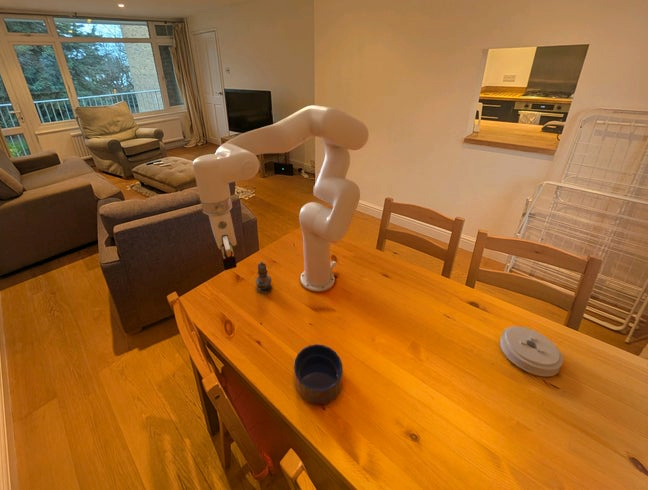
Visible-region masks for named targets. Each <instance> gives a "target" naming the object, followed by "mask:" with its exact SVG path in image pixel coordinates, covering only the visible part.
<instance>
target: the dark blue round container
mask: <svg viewBox="0 0 648 490" xmlns="http://www.w3.org/2000/svg"><path fill="white" fill-rule="evenodd" d="M343 368H344V367H343V363H342V359H341V357H340V356H339V354H338V353H337V352H336V351H335V350H334V349H333V348H331V347H329V346H327V345H324V344H310V345H307V346H305V347H304V348H302V349H301V350H300V351H298V353H297V355H296V357H295V359H294V363H293V371H294V383H295V389H296V391H297V392H298V394H299V396H300V397H301V398H302V399H303V400H305V401H306V402H308V403H310V404H312V405H314V406H315V405H318V406H325V405H329V404H330V403H332V402H333V401H335V400H336V399H337V398H338V397H339V395H340V394H341V391H342V388H343V378H344V377H343V375H344V374H343V373H344V372H343V371H344V370H343Z"/></svg>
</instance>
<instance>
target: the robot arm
mask: <svg viewBox="0 0 648 490" xmlns="http://www.w3.org/2000/svg"><path fill="white" fill-rule="evenodd" d="M315 137H317V138H320V139H321V141H322V144H323V148H324V159H323V162H322V166H321V168H320V170H319V173H318V177H317V178H316V181H315V184H314V187H313V193H314V196H315V197H316V198H318V199H319V200H320V201H322V202H325V203H326V204H329V205H330V206H332V209H331V208H330V207H328V206H326V205H324V204H321V203H319V202H315V201H310V202H307V203H305V204H303V206H302V207H301V209H300V211H299V215H298V221H299V225H300V229H301V233H302V234H301V235H302V246H303V248H302V251H303V270H304V271H302V273H301V274H300V284H301V285H302V286H303V287H304V288H305V289H306V290H308V291H311V292H317V293H319V292H325V291H328V290H329V289H331V288H333V286H334V284H335V275H334V273H333V272H332V270H333V268H335V267H336V266H337V265H338V263H337V261H335V260H333V261H332V262H331V244H336V243H339V242H341V241H342V240H343V239H345V236H346V235H347V233H348V230H349V228H350V225H351V223H352V221H353V219H354V216H355V213H356V211H357V209H358V206H359V203H360V200H361V190H360V189H361V188H360V186H358V184H357V183H356V182H354V181H353V180H351V179H350V180H349V179H347V175H348V171H349V168H350V165H351V154H350V151H349V150H351V151H358V150H361V149H362V148H364V147H365V146H366V144H367V142H368V141H369V128H368V127H367V125H366V124H365V123H364V122H362V121H361V120H359V119H357V118H356V117H353V116H351V115H350V114H348V113H347V112H344V111H342V110H341V109H338V108H337V107H336V108H335V107H331V106H326V105H325V106H323V105H316V104H312V105H307V106H304V107H303V108H301V109H299V110H297V111H295V112H294V113H292V114H290V115H288V116H287V117H285V118H283V119H281V120H279V121H277V122H275V123H273V124H270V125H266V126H262V127H260V128H255V129H252V130H249V131H246V132H243V133H240V134H238V135H237V136H235V137H232V138H231V139H229V140H227V141H225V142H224V143H222V144H221V145H220V146H219V147H218V148H217V149H216V151H215V153H210V154H208V153H207V154H204V155H200V156H198V157H196V158H195V159H194V160H193V162H192V169H193V173H194V178H195V182H196V187H197V192H198V196H199V201H200V205H201V209H202V213H203V214H204V215H207V216H208V219H209V222H210V227H211V230H212V234H213V237H214V240H215V243H216V245H217V248H218V250H219V251H221V254H222V257H221V259H222V260H221V261H222V265H223V270H224V271H229V270H232V269H235V268H237V261H236V255H235V253H234V250H233V247H235V246H237V238H236V234H235V229H234V224H233V219H232V214H231V210H232V209H233V202H232V201H233V200H232V195H231V189H230V183H236V182H245V181H248V180H251V179H253V178H255V176H256V175H257V174H258V173H259V171H260V167H261V166H260V165H261V163H260V160H259V158H258V156H259V155H266V154H285V153H288V152H291V151H293V150H294V149H296V148H297V147H299V146H301V145H302V144H304V143H305V142H307V141H309V140H311V139H313V138H315Z"/></svg>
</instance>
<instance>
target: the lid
mask: <svg viewBox="0 0 648 490" xmlns="http://www.w3.org/2000/svg"><path fill="white" fill-rule="evenodd" d="M499 346H500V349H501V351H502V353H503V354H504V355H505V356H506V358H507V359H508V361H510V362H512V364H514V365H515V366H517V367H518V368H519V369H520V370H523V371H525V372H527V373H529V374H532V375H535V376H540V377H546V378H547V377H553V376H555V375H557V374H558V373H559V372H560V369H561V367H562V365H563V363H564V357H563V354H562V351H560V349H559V347H558V346H557V345H556V344H555V342H553V341H552V340H551V339H549V338H548V337H547V336H545V335H544V334H542V333H540V332H538V331H536V330H534V329H531V328H529V327H524V326H519V325H512V326H508V327H506V328H504V329H503V331H502V333H501V336H500V339H499Z"/></svg>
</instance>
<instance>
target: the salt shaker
mask: <svg viewBox="0 0 648 490" xmlns="http://www.w3.org/2000/svg"><path fill="white" fill-rule="evenodd" d="M257 269H258V270H257V272H256V273H257V275H258V277H257V278H255V285H256V286H257V288H256V290H257V292H258V293H260V294H267V293H268V294H269V292H271V291H272V285H271V284H272V277H271V276H270V275H268V272H269V271H268V270H267V266H266V263H265V262H263V261H260V262H259V263H258V264H257Z"/></svg>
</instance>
